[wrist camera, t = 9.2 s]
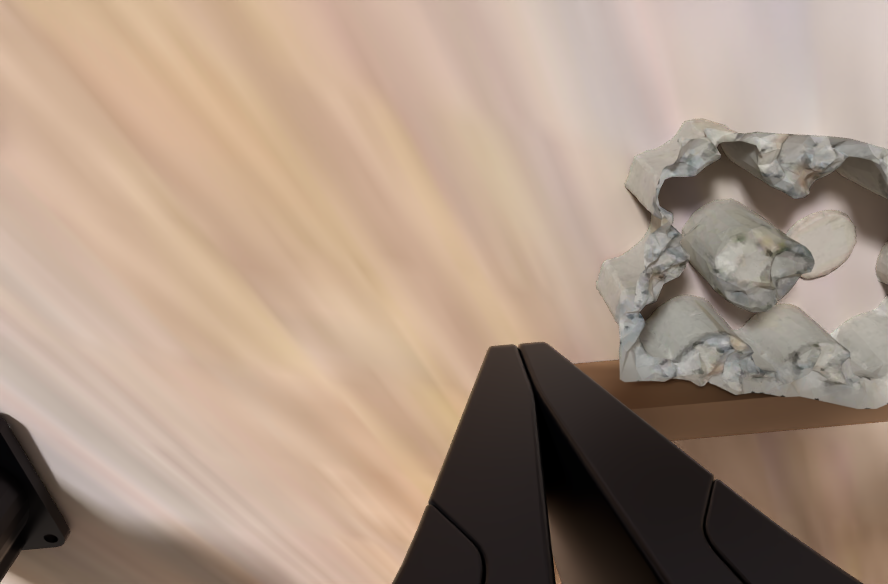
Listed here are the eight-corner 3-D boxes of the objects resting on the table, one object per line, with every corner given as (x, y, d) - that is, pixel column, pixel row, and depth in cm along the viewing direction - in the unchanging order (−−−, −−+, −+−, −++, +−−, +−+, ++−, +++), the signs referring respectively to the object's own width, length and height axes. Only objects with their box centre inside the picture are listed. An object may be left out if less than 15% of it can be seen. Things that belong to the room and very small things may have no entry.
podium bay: (993, 360, 21) (1069, 412, 19) (550, 399, 21) (569, 457, 18) (1315, -267, 13) (1531, -321, 10) (572, -216, 12) (612, -258, 10)
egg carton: (980, 152, 17) (1129, 202, 14) (848, 354, 21) (939, 436, 17) (649, 86, 16) (722, 123, 12) (568, 317, 19) (605, 398, 16)
